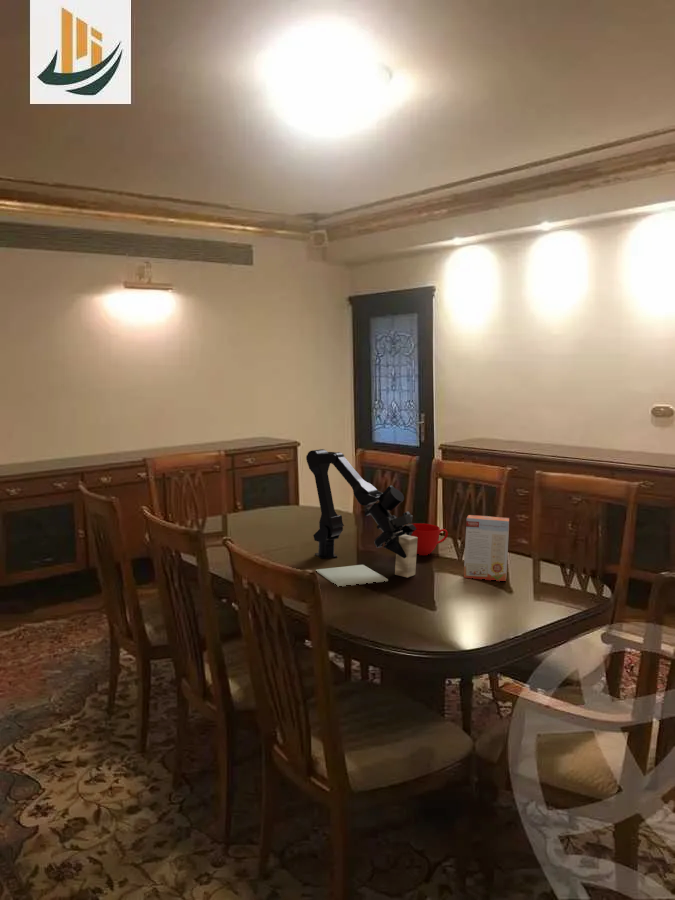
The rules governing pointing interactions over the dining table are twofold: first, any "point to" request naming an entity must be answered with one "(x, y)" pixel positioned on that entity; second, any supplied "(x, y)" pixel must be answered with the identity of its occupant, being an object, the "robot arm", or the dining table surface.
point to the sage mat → (351, 575)
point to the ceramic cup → (427, 537)
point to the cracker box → (486, 547)
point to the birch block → (408, 564)
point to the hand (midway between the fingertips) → (409, 555)
